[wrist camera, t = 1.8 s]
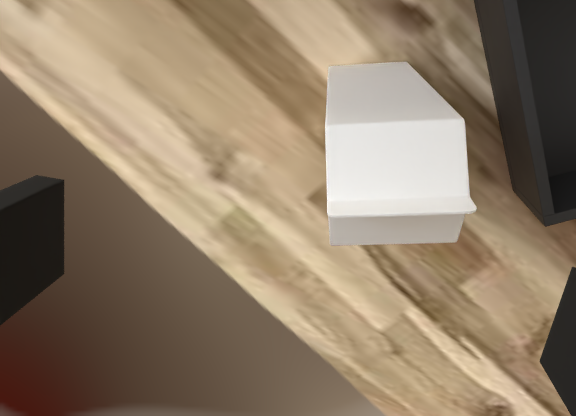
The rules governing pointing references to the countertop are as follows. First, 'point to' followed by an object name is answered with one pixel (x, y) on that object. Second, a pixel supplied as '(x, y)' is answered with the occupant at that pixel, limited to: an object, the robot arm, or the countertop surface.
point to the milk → (393, 158)
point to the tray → (535, 98)
